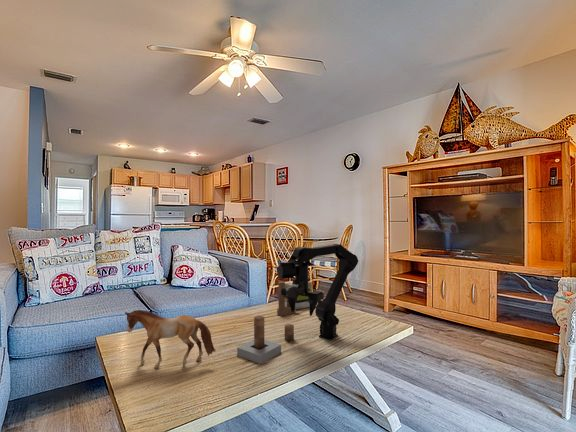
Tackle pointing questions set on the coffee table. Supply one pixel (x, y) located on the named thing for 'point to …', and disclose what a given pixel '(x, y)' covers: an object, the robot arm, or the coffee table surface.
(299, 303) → the tea box
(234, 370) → the coffee table surface
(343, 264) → the robot arm
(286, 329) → the short walnut stub
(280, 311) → the wooden block
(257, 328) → the tall walnut pin
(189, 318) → the horse figurine
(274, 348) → the slate collar block
